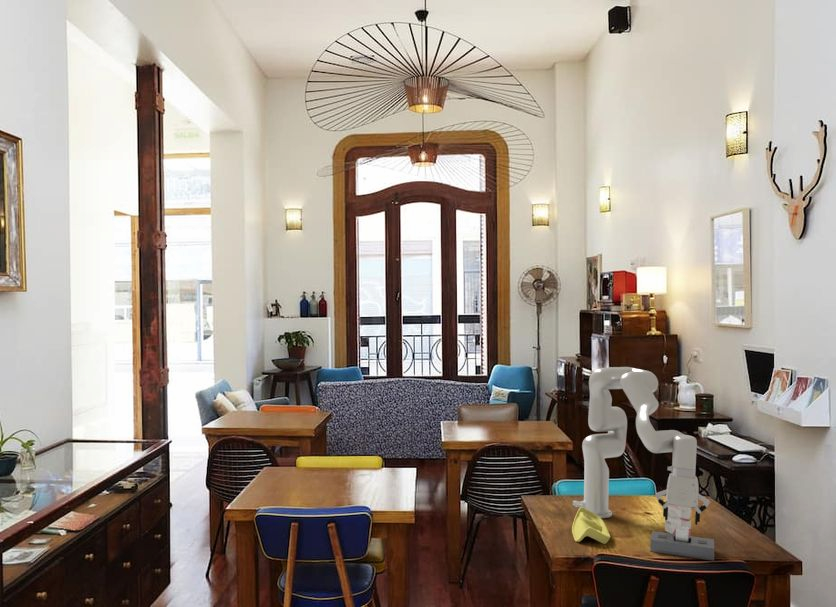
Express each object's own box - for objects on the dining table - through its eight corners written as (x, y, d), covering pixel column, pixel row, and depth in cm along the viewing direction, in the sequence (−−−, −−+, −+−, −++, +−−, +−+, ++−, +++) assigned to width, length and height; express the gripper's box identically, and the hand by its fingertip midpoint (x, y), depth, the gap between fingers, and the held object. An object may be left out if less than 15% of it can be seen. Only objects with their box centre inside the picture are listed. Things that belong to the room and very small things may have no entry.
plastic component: (611, 538, 244) (585, 525, 245) (601, 556, 245) (575, 543, 246) (601, 517, 264) (577, 504, 264) (592, 533, 265) (568, 521, 265)
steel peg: (675, 552, 239) (675, 528, 239) (676, 548, 243) (676, 525, 242) (687, 554, 237) (688, 530, 237) (688, 550, 241) (689, 527, 241)
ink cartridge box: (691, 536, 255) (692, 496, 255) (681, 538, 253) (682, 497, 253) (674, 529, 263) (675, 490, 263) (664, 530, 261) (664, 491, 261)
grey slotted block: (650, 551, 239) (650, 539, 239) (652, 542, 248) (652, 530, 248) (714, 560, 231) (714, 548, 231) (713, 550, 241) (714, 539, 241)
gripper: (656, 471, 240) (653, 520, 240) (711, 478, 233) (708, 529, 234) (657, 465, 247) (655, 514, 247) (710, 472, 240) (708, 522, 241)
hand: (681, 521), depth 240 cm, fingers open, 9 cm apart
